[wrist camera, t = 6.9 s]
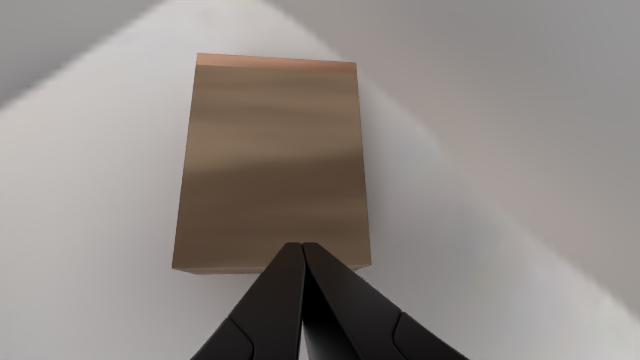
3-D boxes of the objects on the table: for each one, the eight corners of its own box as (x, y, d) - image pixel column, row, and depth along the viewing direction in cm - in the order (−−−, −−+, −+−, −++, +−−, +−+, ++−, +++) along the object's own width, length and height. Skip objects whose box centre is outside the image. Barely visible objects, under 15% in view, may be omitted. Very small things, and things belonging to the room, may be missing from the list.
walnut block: (371, 265, 12) (355, 62, 15) (171, 268, 11) (197, 52, 14) (348, 271, 16) (340, 109, 19) (198, 274, 15) (214, 103, 18)
